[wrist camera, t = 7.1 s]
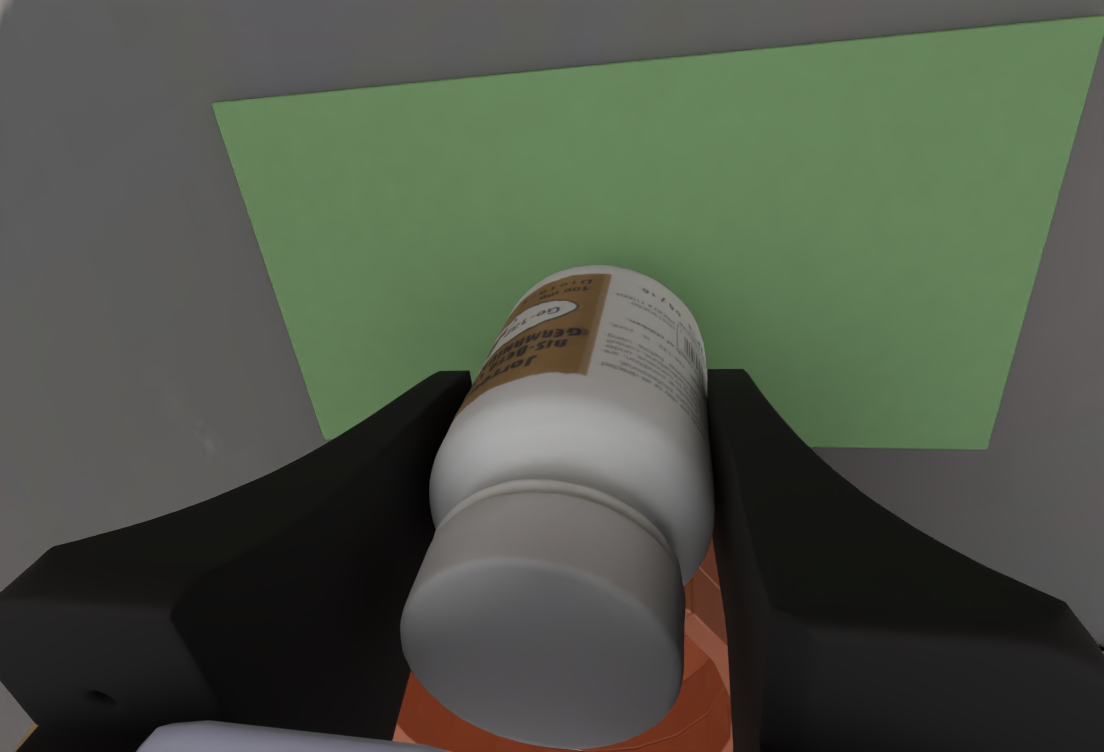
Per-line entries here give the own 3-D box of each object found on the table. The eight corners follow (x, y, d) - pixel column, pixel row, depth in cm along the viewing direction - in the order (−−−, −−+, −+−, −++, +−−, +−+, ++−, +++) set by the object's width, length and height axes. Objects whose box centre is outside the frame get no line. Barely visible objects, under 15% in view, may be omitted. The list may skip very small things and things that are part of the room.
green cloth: (1101, 14, 12) (1110, 15, 12) (982, 443, 17) (987, 450, 17) (217, 101, 16) (210, 103, 16) (328, 434, 21) (323, 439, 21)
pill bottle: (561, 218, 13) (436, 459, 6) (747, 327, 13) (813, 654, 7) (472, 379, 15) (312, 678, 9) (634, 466, 16) (602, 812, 9)
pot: (753, 463, 19) (769, 567, 15) (737, 721, 25) (746, 836, 22) (357, 454, 21) (295, 543, 18) (430, 692, 27) (395, 791, 24)
